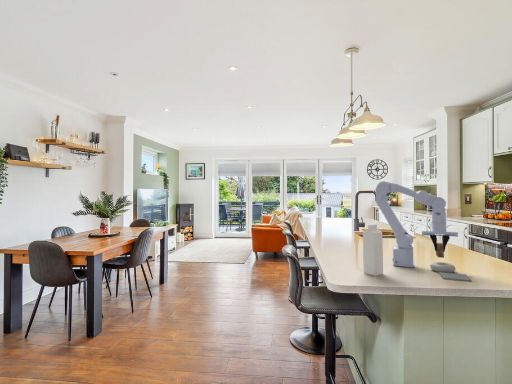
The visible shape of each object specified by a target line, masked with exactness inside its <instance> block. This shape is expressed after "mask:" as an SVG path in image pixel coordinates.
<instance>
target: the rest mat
mask: <svg viewBox="0 0 512 384" xmlns="http://www.w3.org/2000/svg"><path fill="white" fill-rule="evenodd" d="M438 274H439V275H440V277H441V279H442V280H451V281H462V282H463V281H464V282H473V281H472V279H471V278H470V277H469V276H468V275H467V274H466V273H456V272H452V273H446V272H438Z"/></svg>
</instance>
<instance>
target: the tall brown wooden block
mask: <svg viewBox="0 0 512 384" xmlns="http://www.w3.org/2000/svg"><path fill="white" fill-rule="evenodd" d="M435 256H436V257H437V258H445V252H444V245H443V244H442V242H437V251H435Z"/></svg>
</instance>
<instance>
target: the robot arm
mask: <svg viewBox="0 0 512 384" xmlns="http://www.w3.org/2000/svg"><path fill="white" fill-rule="evenodd" d="M374 190H375V202H376V205H377V206H378V208H379V210H380V211H381V213H382V215H383V216H384V218H385V220H386V221H387V223H388V225H389V226H390V228H391V230H392V231H393V233H394V234H393V235H394V237H395V239H396V244H397V246H395V247H392V255H393V256H392V263H393V266H394V267H403V268H404V267H406V268H415V267H416V266H415V263H414V247H413V246H412V244H413V243H414V236H412V235H411V234H410V233H409V232H407V230H406V229H405V227H403V225H402V223H401V222H400V220H399V218H398V217H397V215H396V214H395V212H394V211H393V209H392V207H391V206H390V204H389V202H388V199H389V196H390V195H391V193H400V194H403V195H406V196H409V197H411V198H414V201H415V202H418V203H420V204H422V205H425V206H428V207H431V209H432V211H431V221H432V222H431V227H432V229H431V230H422V231H421V235H422V236H429V238H430V240H431V241H432V245H433V247H434V251H435V252H436V251H437V243H438V237H441V239H442V240H441V241H442V242H441V243H442V244H443V245H444V253H445V252H446V248H447V244H448V242H449V241H450V239H451V237H455V238H457V237H459V233H458V232H457V231H447V213H446V211H447V210H446V206H447V201H446V200H445V199H444V198H443V197H440V196H437V194H432V193H429V192H428V191H427V190H424V189H423V190H418V191H416V190H413V189H411V188H408V187H406V186H404V185H401V184H398V183H394V182H389V181H385V180H384V181H380V182H378V184H377V185H376V187H375V189H374Z"/></svg>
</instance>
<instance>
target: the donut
mask: <svg viewBox="0 0 512 384" xmlns="http://www.w3.org/2000/svg"><path fill="white" fill-rule="evenodd" d="M429 267H430V269H431V270H432V271H434V272H437V273H439V272H446V273H455V271H456V270H457V269H456V266H455V265H454V264H452V263H448V262H441V261H434V262H431V263H430V265H429Z"/></svg>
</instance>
